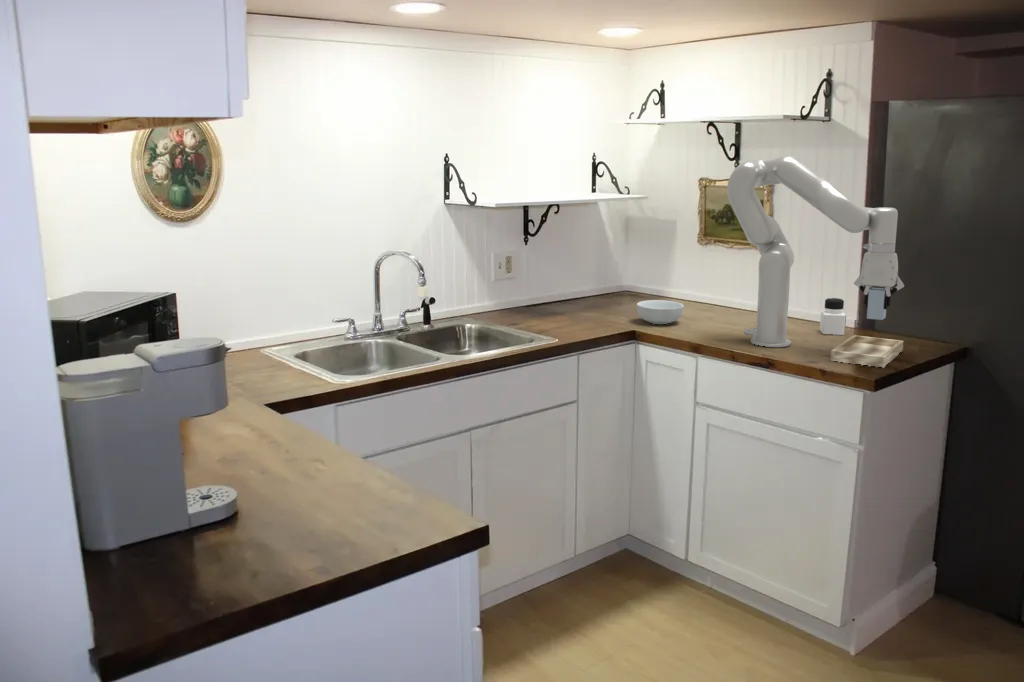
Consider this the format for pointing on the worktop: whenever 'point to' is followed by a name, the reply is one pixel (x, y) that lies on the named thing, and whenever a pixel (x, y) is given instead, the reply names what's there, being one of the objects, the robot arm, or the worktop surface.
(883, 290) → the block
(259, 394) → the worktop surface
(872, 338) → the tray
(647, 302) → the cereal bowl
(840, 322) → the medicine bottle
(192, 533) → the worktop surface
